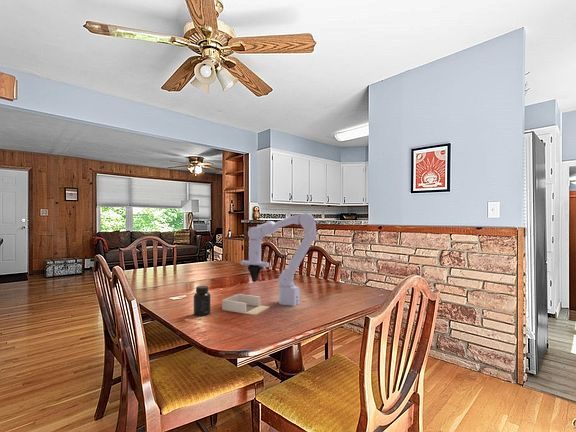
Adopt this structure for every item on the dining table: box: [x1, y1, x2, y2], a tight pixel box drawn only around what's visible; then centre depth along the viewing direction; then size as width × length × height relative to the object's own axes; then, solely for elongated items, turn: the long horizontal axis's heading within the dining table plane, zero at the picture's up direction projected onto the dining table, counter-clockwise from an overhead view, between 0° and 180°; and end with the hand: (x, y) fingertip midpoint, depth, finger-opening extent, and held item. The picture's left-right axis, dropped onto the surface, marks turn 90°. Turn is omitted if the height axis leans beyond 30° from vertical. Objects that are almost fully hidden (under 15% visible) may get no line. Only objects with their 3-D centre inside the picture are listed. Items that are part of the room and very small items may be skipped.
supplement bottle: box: [193, 285, 212, 317], centre depth 129 cm, size 7×7×12 cm
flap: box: [246, 305, 270, 316], centre depth 133 cm, size 1×12×4 cm
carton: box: [221, 293, 262, 314], centre depth 137 cm, size 12×12×5 cm
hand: (254, 281), depth 147 cm, fingers closed
